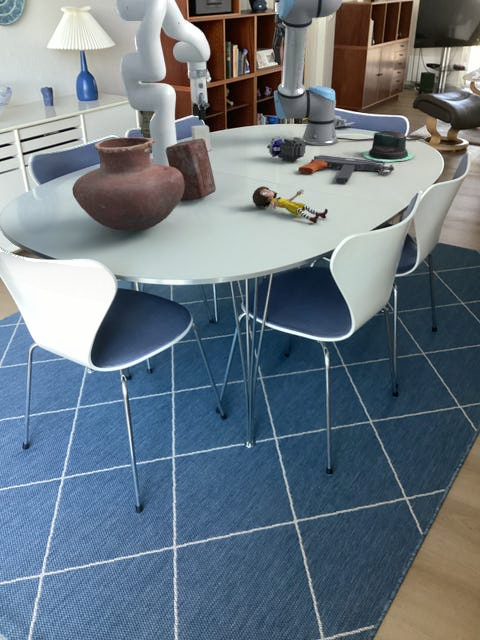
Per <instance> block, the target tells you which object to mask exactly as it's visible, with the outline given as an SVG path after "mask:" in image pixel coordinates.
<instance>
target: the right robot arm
mask: <svg viewBox="0 0 480 640" xmlns="http://www.w3.org/2000/svg"><path fill="white" fill-rule="evenodd" d="M342 4H343V0H274V13H275V14H274V23H275V25H274V34H273V39H272V46H273V48H274V51H273V52H274V53H273V54H274V55H273V57H274V58H273V62H274V63H276V64H277V63H278V64H279V63H281V48H282V47H281V43H282V40H283V44H284V46H283V60H282V61H283V62H282V77H281V83H280V84H279V85H278V86H277V90H274V91H273V99H274V108H275V109H274V110H275V114H276V117H277V118H278V119H280V120H290V119H291V120H294V119H295V120H296V119H307V121H306V127H305V130H304V133H303V136H302V142H304V145H311V146H330V145H334V144H336V143H337V141H338V140H342V141H354V142H362V141H373V138H374V137H371V138H370V137H369V138H350V137H349V138H347V137H338V136H337V133H336V129H335V128H334V115H335V112H334V109H335V110H336V106H335V101H336V91H335V90H334V89H333V88H331V87H327V86H320V85H309V86H308V88H307V89H306V87H305V85H304V84H303V78H304V68H305V57H306V47H307V39H308V38H307V35H308V29H309V28H310V26H312V24H313V19H318V18H319V19H320V18H326V17H330V16H331V15H333V14H335V13H336V12H337V11H338V10H339V9H340V7H341V6H342ZM417 140H423V141H427V139H426V138H425V137H424V136H418V137H415V138H406V142H407V141H409V142H410V141H417Z"/></svg>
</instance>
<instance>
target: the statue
mask: <svg viewBox="0 0 480 640" xmlns="http://www.w3.org/2000/svg"><path fill="white" fill-rule="evenodd" d="M141 83H152V82H144V81H141ZM139 113H140V115H141V117H142V118H141V126H140V133H141V135H142V136H143V138H151V135H150V121H151V119H152V117H153V115H154V113H155V112H154V111H139ZM150 152H152V146H151V148H150Z"/></svg>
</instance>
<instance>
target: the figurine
mask: <svg viewBox="0 0 480 640" xmlns="http://www.w3.org/2000/svg"><path fill="white" fill-rule="evenodd" d="M304 193H305V191H304V189H302V188H300V190H297V191H296V194H295V195H293V196H292V197H290V198H283V197H280V196H278V192H276V191H274V190H271V189H270V188H269V187H267V186H264V185H263V186H258V187H257V188H256V189H255V190H254V192H253V193H252V197H251V198H252V202H253V204H254V205H255V206H256V207H258V208H269V207H270V206H272V209H273V210H275V209H276V208H280V209H285V210H286V211H288V212H289V213H290V214H292V215H294V216H296V217H299V216H301V217H302V218H304V219H306V220H308V221H310V222H311V223H313V224H318V219H319V218H320V219H323V220H324V219H326V218H327V214H328V213H329V210H328V208H325V209H324V211H323V212H320V211H317V210H315V209H313V208H311V207H310V206H308V205H306V203H302V202H296V201H294V200H295V198H297V197H298V196H301V195H303V194H304ZM305 211H307V212H308V213H310V214H312V215H314V216H310V215H308V214H307V213H306V212H305Z"/></svg>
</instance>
